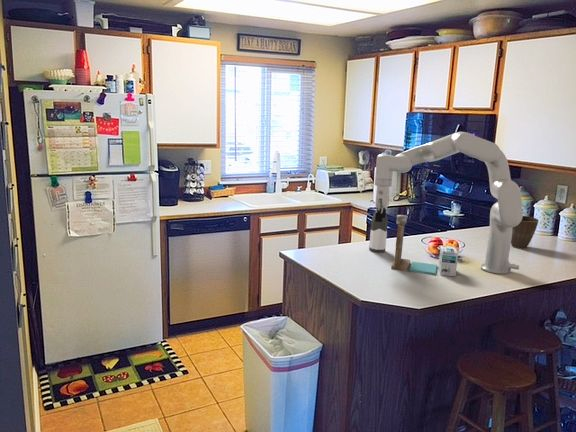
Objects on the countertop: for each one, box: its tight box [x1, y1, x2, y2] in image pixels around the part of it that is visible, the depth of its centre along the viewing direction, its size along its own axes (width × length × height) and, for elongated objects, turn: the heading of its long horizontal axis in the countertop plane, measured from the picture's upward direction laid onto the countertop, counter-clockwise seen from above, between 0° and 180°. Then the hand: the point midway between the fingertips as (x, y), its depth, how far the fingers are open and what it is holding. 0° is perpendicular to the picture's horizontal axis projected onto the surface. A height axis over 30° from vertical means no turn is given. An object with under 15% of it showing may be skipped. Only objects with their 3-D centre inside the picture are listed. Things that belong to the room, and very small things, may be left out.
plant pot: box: [510, 215, 540, 250], centre depth 267 cm, size 15×15×16 cm
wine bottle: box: [368, 210, 389, 254], centre depth 246 cm, size 8×8×30 cm
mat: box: [409, 261, 438, 276], centre depth 223 cm, size 11×13×1 cm
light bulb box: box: [437, 245, 459, 277], centre depth 218 cm, size 11×7×11 cm, turn 168°
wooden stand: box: [390, 214, 411, 272], centre depth 223 cm, size 7×13×23 cm, turn 161°
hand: (380, 219), depth 225 cm, fingers open, 9 cm apart
